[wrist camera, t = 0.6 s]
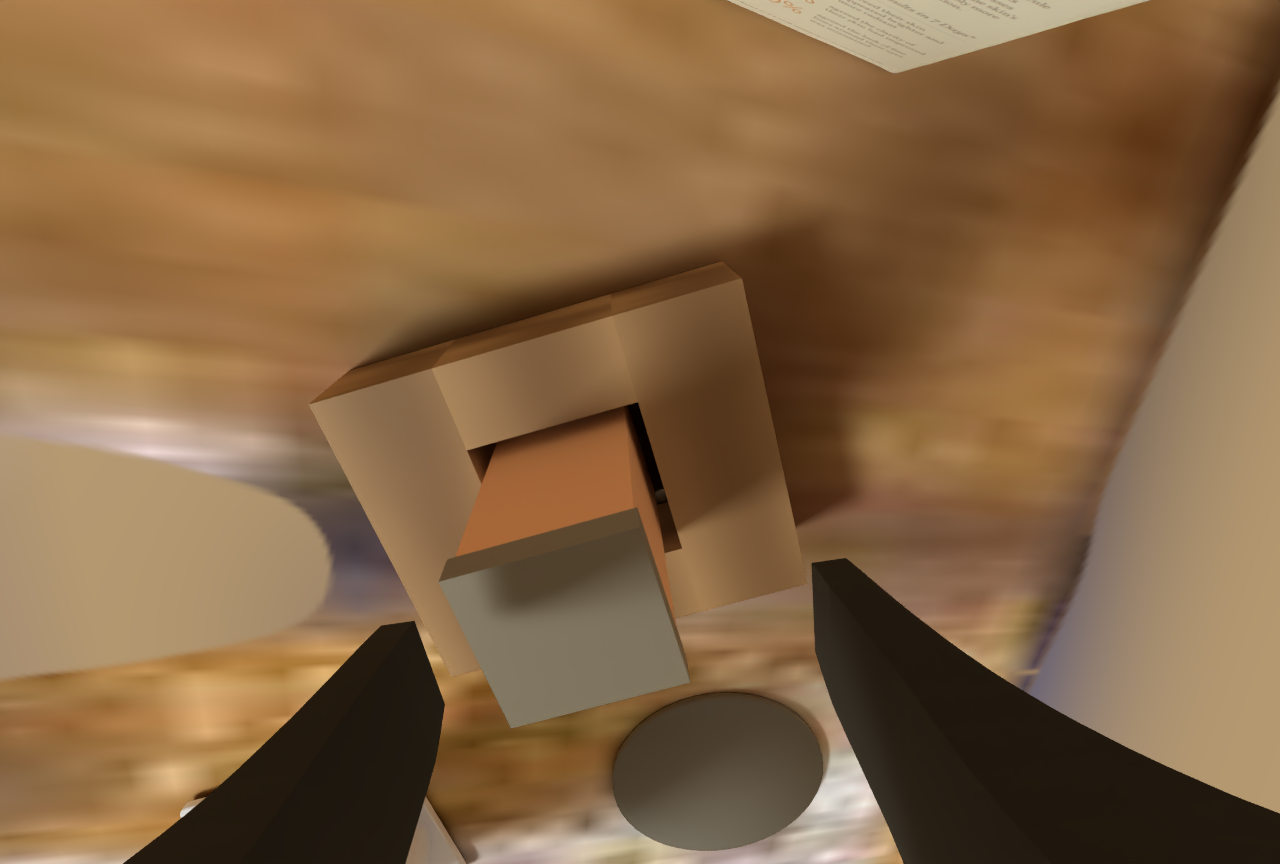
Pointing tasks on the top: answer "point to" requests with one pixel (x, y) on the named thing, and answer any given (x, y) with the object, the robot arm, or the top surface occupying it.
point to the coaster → (717, 771)
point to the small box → (924, 24)
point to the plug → (567, 573)
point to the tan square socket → (565, 391)
